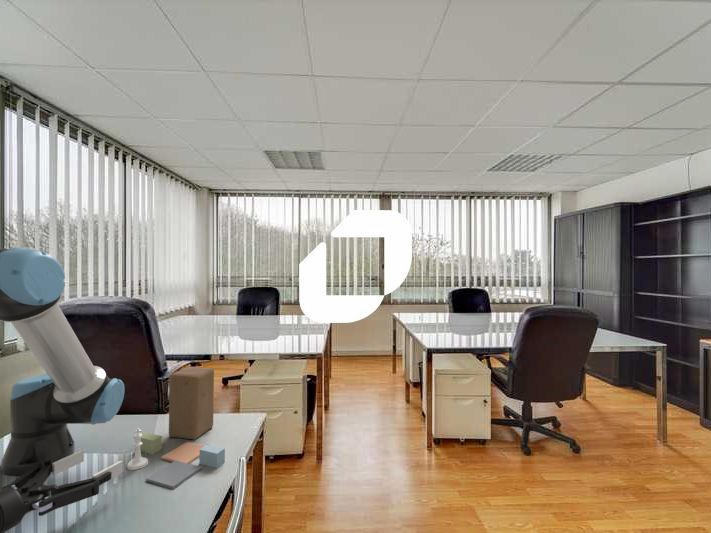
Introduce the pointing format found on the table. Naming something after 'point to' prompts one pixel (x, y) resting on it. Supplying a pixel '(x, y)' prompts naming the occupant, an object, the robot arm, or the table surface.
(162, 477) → the pad slate
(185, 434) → the wooden block
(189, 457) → the pad terracotta
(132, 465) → the chess piece
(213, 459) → the brick blue
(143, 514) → the table surface
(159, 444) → the brick olive
